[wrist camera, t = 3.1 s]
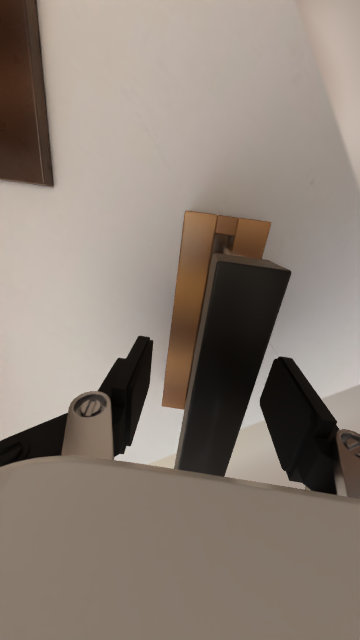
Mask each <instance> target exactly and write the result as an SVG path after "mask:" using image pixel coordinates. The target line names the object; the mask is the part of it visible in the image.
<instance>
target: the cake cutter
mask: <svg viewBox="0 0 360 640" xmlns="http://www.w3.org/2000/svg"><path fill="white" fill-rule="evenodd" d="M290 276H291V271H290V270H288V269H286V268H284V267H281V266H279V265H277V264H275V263H273V262H271V261H269V260H263V259H255V258H248V257H245V256H243V255H242V254H240V253H239V252H237V251H236V250H234V249H232V248H231V247H229V246H228V245H226V244H225V243H223V242H221V241H216V247H215V252H214V253H213V254H212V259H211V264H210V270H209V276H208V281H207V287H206V292H205V298H204V304H203V309H202V315H201V321H200V326H199V332H198V337H197V343H196V349H195V354H194V360H193V366H192V371H191V377H190V382H189V388H188V394H187V399H186V405H185V410H184V416H183V422H182V427H181V433H180V439H179V444H178V450H177V455H176V461H175V467H174V469H177V470H184V471H190V472H197V473H203V474H209V475H216V476H222V477H224V476H225V473H226V470H227V466H228V464H229V460H230V458H231V454H232V451H233V448H234V445H235V442H236V439H237V436H238V433H239V430H240V427H241V424H242V421H243V418H244V415H245V412H246V409H247V406H248V403H249V400H250V397H251V394H252V391H253V388H254V385H255V382H256V379H257V376H258V373H259V370H260V367H261V364H262V361H263V358H264V355H265V351H266V348H267V345H268V342H269V339H270V336H271V333H272V330H273V327H274V324H275V321H276V318H277V315H278V312H279V309H280V306H281V303H282V300H283V297H284V294H285V291H286V288H287V285H288V282H289V279H290Z"/></svg>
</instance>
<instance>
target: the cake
mask: <svg viewBox="0 0 360 640" xmlns="http://www.w3.org/2000/svg"><path fill="white" fill-rule="evenodd" d="M0 180H5V181H12V182H20V183H27V184H35V185H42V186H49V187H52V186H53V180H52V169H51V159H50V148H49V138H48V127H47V117H46V106H45V95H44V85H43V74H42V64H41V53H40V43H39V32H38V21H37V11H36V0H0Z"/></svg>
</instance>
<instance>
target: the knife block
mask: <svg viewBox="0 0 360 640" xmlns="http://www.w3.org/2000/svg"><path fill="white" fill-rule="evenodd" d="M270 226H271V222H267V221H259V220H252V219H245V218H237V217H230V216H222V215H218V216H217V215H215V214H208V213H200V212H193V211H185V215H184V224H183V232H182V240H181V249H180V257H179V265H178V274H177V282H176V290H175V299H174V307H173V315H172V324H171V332H170V340H169V349H168V357H167V365H166V374H165V382H164V390H163V399H162V406H164V407H171V408H177V409H184V410H185V405H186V399H187V394H188V388H189V382H190V377H191V371H192V366H193V360H194V354H195V349H196V343H197V337H198V332H199V326H200V321H201V315H202V309H203V304H204V298H205V292H206V287H207V281H208V276H209V270H210V264H211V259H212V254H213V253H214V252H215V247H216V241H221V242H223V243H225V244H226V245H228V246H229V247H231V248H232V249H234V250H236V251H237V252H239V253H240V254H242V255H243V256H245V257H248V258H255V259H262V256H263V252H264V249H265V245H266V241H267V237H268V234H269V230H270Z"/></svg>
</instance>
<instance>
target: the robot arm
mask: <svg viewBox="0 0 360 640" xmlns="http://www.w3.org/2000/svg"><path fill="white" fill-rule="evenodd" d="M152 350H153V340H150V338H149V337H144V336H138V338H137V340H136V342H135V343H134V345H133V347H132V349H131V351H130V353H129V354H128V356H127V358H126V359H123V358H118V359H117V360H116V362H115V363H114V365H113V367H112V368H111V370H110V372H109V373H108V375H107V377H106V378H105V380H104V381H103V383H102V385H101V386H100V388H99V390H98V391H91V392H86V393H83V394H81V395H79V396H78V397H76V398H75V399H74V400H73V401H72V402H71V404H70V406H69V411H68V413H66V414H64V415H61V416H59V417H56V418H54V419H52V420H49V421H47V422H44V423H42V424H39V425H37V426H35V427H32V428H30V429H27V430H25V431H23V432H20V433H18V434H15V435H13V436H10V437H8V438H6V439H4V440H2V441H0V640H360V434H358V433H356V432H354V431H350V430H345V429H342V430H339V428H338V427H337V425H336V423H337V421H336V420H335V418H334V417H333V415H332V414H331V413H330V411H329V410H328V408H327V407H326V405H325V404H324V403H323V401H322V400H321V398H320V397H319V396H318V394H317V393H316V391H315V390H314V389H313V387H312V386H311V384H310V383H309V382H308V380H307V379H306V377H305V376H304V375H303V373H302V372H301V370H300V369H299V368H298V366H297V365H296V363H295V362H294V361H293V359H292V358H287V357H278V359H275V360H274V361H273V364H272V367H271V370H270V373H269V375H268V378H267V381H266V384H265V387H264V389H263V392H262V395H261V398H260V407H261V409H262V412H263V415H264V418H265V421H266V423H267V427H268V430H269V432H270V435H271V438H272V441H273V444H274V447H275V450H276V453H277V456H278V458H279V461H280V464H281V467H282V469H283V470H284V471H286V473H287V475H288V478H289V480H290V481H295V482H301V483H303V484H304V485H306V488H305V490H303V489H297V488H291V487H284V486H278V485H272V484H266V483H260V482H253V481H247V480H241V479H235V478H228V477H222V476H216V475H209V474H203V473H197V472H190V471H184V470H177V469H170V468H164V467H158V466H151V465H145V464H138V463H131V462H123V461H116V460H114V457H115V456H117V455H118V454H124V451H125V448H126V446H131V444H132V441H133V437H134V434H135V431H136V428H137V424H138V421H139V418H140V415H141V411H142V408H143V405H144V402H145V398H146V395H147V392H148V388H149V384H150V373H151V361H152Z"/></svg>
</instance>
